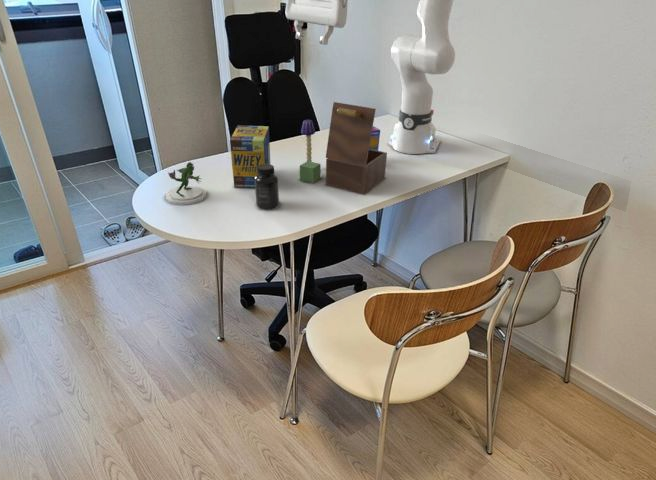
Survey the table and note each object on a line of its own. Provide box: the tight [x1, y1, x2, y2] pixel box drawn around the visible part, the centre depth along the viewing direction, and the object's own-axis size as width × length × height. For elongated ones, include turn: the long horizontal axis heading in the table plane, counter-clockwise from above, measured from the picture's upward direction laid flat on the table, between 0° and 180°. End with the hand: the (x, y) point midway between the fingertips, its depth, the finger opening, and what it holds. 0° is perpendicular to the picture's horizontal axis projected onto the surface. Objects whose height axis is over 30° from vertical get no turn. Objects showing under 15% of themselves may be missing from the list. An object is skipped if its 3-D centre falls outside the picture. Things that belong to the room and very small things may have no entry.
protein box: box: [229, 124, 271, 189], centre depth 159 cm, size 10×15×16 cm
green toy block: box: [299, 160, 322, 184], centre depth 163 cm, size 5×5×5 cm
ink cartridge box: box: [369, 125, 381, 151], centre depth 174 cm, size 10×6×14 cm, turn 117°
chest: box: [325, 149, 388, 196], centre depth 160 cm, size 16×14×9 cm
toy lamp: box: [300, 119, 316, 162], centre depth 167 cm, size 5×5×17 cm
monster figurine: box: [165, 161, 207, 206], centre depth 149 cm, size 12×12×10 cm
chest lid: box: [325, 101, 376, 166], centre depth 147 cm, size 17×14×5 cm
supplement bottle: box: [254, 163, 280, 211], centre depth 144 cm, size 7×7×12 cm
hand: (311, 42), depth 137 cm, fingers open, 8 cm apart
